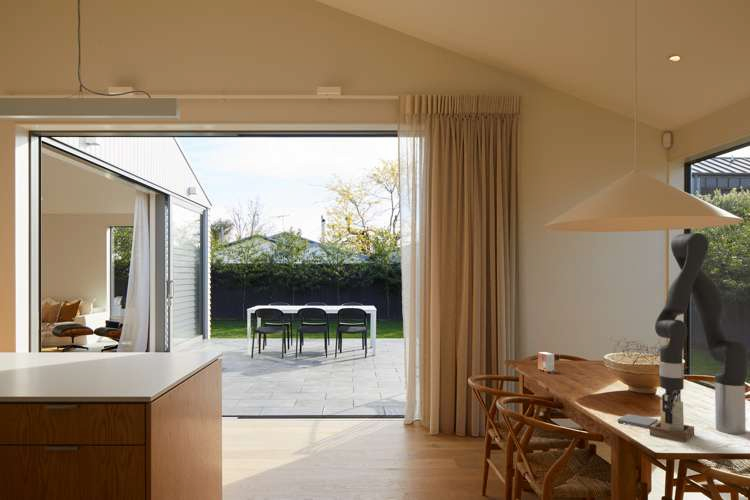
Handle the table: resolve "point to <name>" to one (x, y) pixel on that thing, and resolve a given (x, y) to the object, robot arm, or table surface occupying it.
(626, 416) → the rubber mat
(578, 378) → the table surface
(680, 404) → the skincare box
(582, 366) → the table surface
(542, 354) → the small box
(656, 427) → the pocket holder
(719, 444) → the table surface
